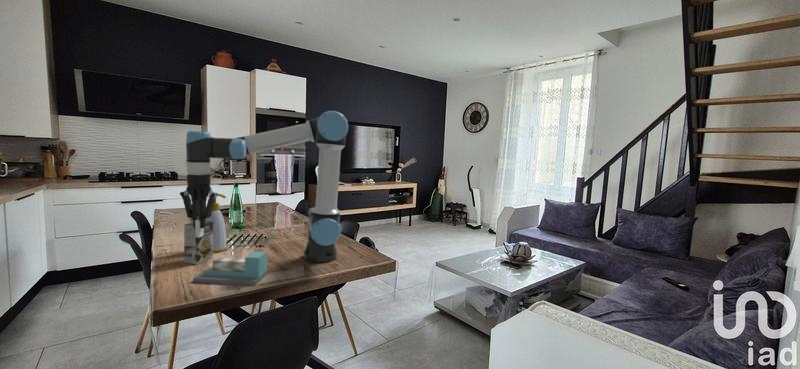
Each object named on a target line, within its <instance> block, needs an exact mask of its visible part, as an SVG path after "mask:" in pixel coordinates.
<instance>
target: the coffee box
mask: <svg viewBox="0 0 800 369" xmlns="http://www.w3.org/2000/svg"><path fill="white" fill-rule="evenodd" d="M183 230H184V231H183V232H184V234H183V235H184V236H183V237H184V240H183V242H184V244H183V248H184V250H183V253H184V255H183V258H184V259H183V261H184V262H183V263H184V264H192V265H200V264H201V263H204V262H207V261H209V260H211V259H213V258H214V253H213V222H210V221H206V227H205V228H204V236H202V237H200V238H198V237H195V228H194V227H193V222H191V223H186V224H184V228H183Z"/></svg>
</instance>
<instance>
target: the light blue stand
mask: <svg viewBox="0 0 800 369" xmlns="http://www.w3.org/2000/svg"><path fill="white" fill-rule="evenodd" d="M244 259H245V272H230V271H213V265H212V266H211V267H209V268H207V269H205V270H204V271H202V272H201V273H199V274H197V275H195V276H194V277H193V278H192V279H193V280H192V282H193V283H201V284H202V283H205V284H216V285H217V284H220V285H237V286H256V285H257V284H259V282H261V281H262V280H263V279H264V278H265V277H266V276H267V275H269V273H270V272H271V267H268V252H267V251H257V250H256V251H253V252H251V253H249V254H247V256H245V258H244Z"/></svg>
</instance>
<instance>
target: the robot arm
mask: <svg viewBox="0 0 800 369" xmlns="http://www.w3.org/2000/svg"><path fill="white" fill-rule="evenodd" d="M348 132H349V122H348V120H347V118H346V117H345V115H344V114H342V113H341V112H339V111H336V110H327V111H325V112H323V113H322V114H320V115H319V116H318V117H315V118H312V119H308V120H306V121H305V123H301V124H295V125H291V126H286V127H282V128H277V129H273V130H268V131H262V132H258V133H254V134H248V135H244V136H240V137H239V136H238V137H235V138H234V137H232V138H230V137H229V138H228V137H213V136H211V133H210V132H208V131H197V130H196V131H195V130H189V131H187V132H186V141H185V142H186V143H185V150H186V173H187V175H186V184H187V186H186V189H185V190H184V191H180V192H179V195H180V197H181V198H182V201H183V205H184V209H185V212H186V217H187V218H189V219H192V223H193V227H194V228H195V237H198V238H200V237H202V236H204V228H205V227H206V218H209V217H211V214H212V210H213V206H214V202H215V198H216V199H217V197H218V196H217V195H218V194H219V193H218V192H214V191H213V190H212V187H211V184H212V183H211V180H212V179H211V174H210V173H211V159H230V160H231V159H233V160H243V159H245V158H246V156H247V155H251V154H255V153H261V152H264V151H270V150H273V149H277V148H283V147H286V146H292V145H297V144H301V143H305V142H312V143H315V145H317V147H318V148H319V151H318V152H319V154H318V165H317V166H318V167H317V169H318V170H317V181H316V182H317V183H316V185H317V186H316V194H315V195H316V197H315V198H316V199H315V207H310V208H309V209H308V213H307V214H308V219H307V220H308V222H307V223H308V226H307V242H306V245H305V247H304V251H303V254H302V255H303V259H304V260H306V261H307V262H310V263H311V262H312V263H327V262H328V261H329V262H332V261H334V259H335V260H336V259H337V258H338V249H337V247H336V242H337V241H338V239H339V238H340V236H341V234H342V232H341V231H342V230H341V226H340V220H341V211H340V210H339V209H338V196H339V186H340V185H339V183H340V172H341V171H340V169H341V155H342V150H343V149H344V148H345V147H346V141H347V140H346V139H347V138H346V137H347V134H348ZM208 195H209V197H207V196H208Z"/></svg>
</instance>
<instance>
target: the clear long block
mask: <svg viewBox="0 0 800 369" xmlns="http://www.w3.org/2000/svg"><path fill="white" fill-rule="evenodd" d="M212 266H213V271H230V272H245V258H234V257H233V258H232V257H216V258H215V259H213V260H212Z"/></svg>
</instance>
